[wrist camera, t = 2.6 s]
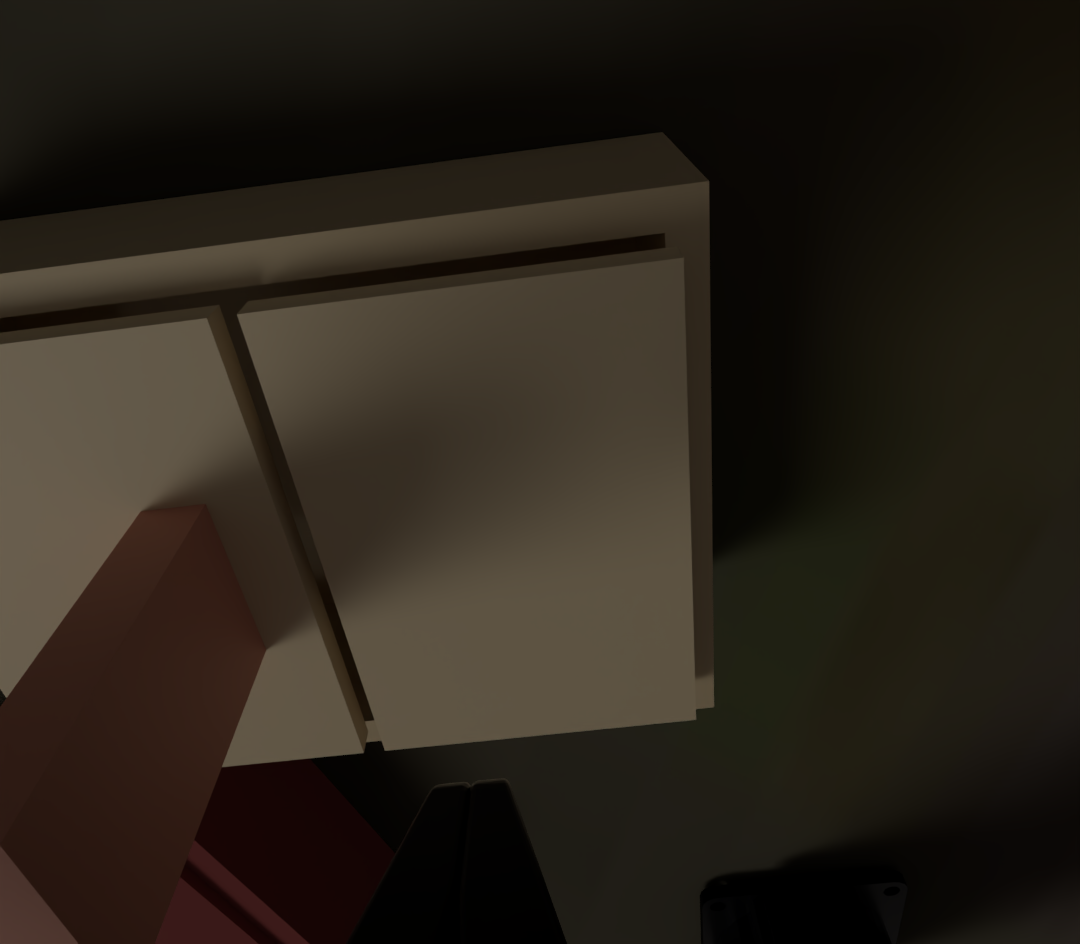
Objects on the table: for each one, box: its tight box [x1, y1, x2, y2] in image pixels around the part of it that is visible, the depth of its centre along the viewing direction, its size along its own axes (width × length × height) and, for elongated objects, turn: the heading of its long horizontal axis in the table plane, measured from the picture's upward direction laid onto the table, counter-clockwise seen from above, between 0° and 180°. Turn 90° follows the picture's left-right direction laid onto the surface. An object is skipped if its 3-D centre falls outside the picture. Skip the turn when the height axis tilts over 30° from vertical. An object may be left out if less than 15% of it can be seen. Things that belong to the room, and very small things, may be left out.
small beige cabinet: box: [0, 132, 714, 742], centre depth 15 cm, size 10×13×4 cm
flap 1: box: [0, 305, 368, 944], centre depth 11 cm, size 9×6×6 cm
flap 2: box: [237, 247, 696, 751], centre depth 13 cm, size 9×6×1 cm
